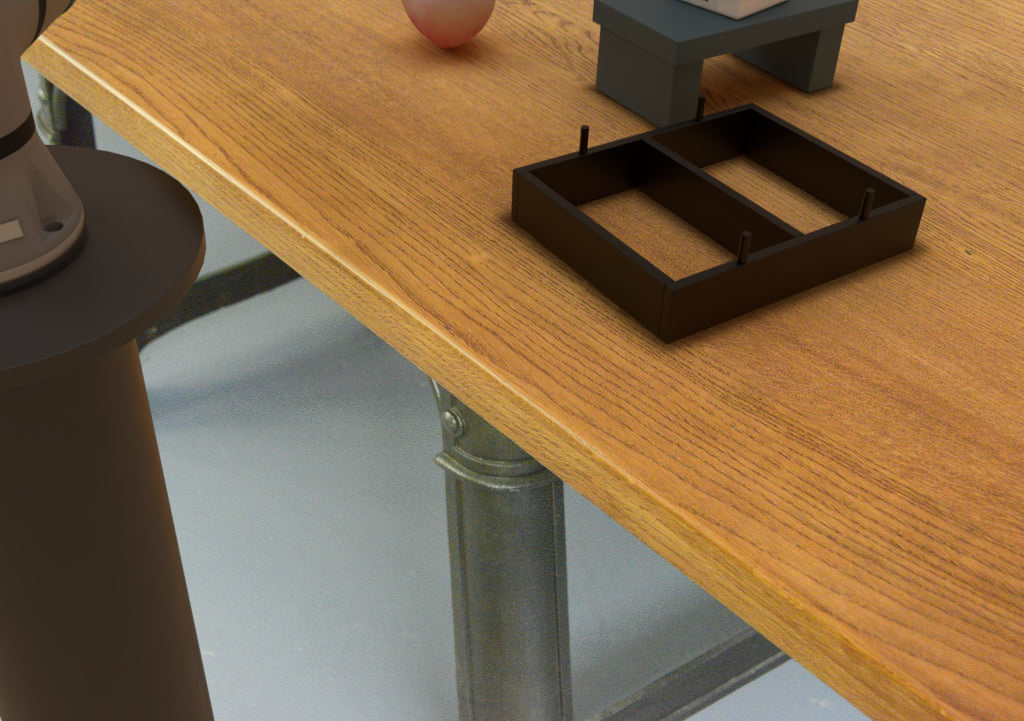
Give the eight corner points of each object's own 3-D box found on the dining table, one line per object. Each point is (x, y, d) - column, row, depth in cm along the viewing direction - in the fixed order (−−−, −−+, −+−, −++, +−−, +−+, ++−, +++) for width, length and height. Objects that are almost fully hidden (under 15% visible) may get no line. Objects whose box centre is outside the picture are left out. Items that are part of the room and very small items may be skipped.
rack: (510, 218, 82) (513, 142, 79) (743, 148, 92) (755, 77, 89) (666, 344, 71) (677, 261, 67) (913, 248, 81) (935, 171, 77)
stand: (587, 87, 101) (593, -3, 96) (756, 45, 110) (770, -39, 105) (666, 136, 94) (678, 42, 89) (840, 87, 103) (859, -2, 98)
